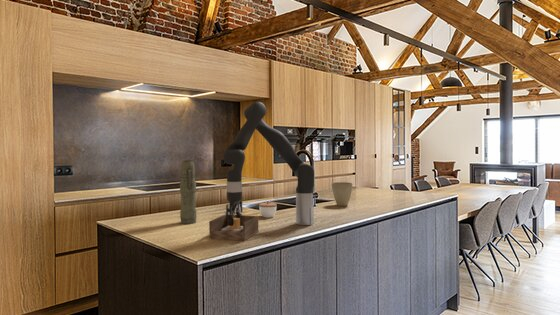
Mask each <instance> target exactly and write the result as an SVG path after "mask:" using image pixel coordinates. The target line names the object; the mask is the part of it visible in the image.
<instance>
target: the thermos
mask: <svg viewBox="0 0 560 315" xmlns="http://www.w3.org/2000/svg"><path fill="white" fill-rule="evenodd" d="M195 169H196V168H195V163H194V161H193V160H183V161H181V165H180V175H181V176H180V180H179V192H180V212H179V214H180V216H179V217H180V224H181V225H192V224H196V223H197V218H198V217H197V209H196V193H197V182H196V178H195V174H196V172H195Z"/></svg>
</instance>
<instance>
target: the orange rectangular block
mask: <svg viewBox="0 0 560 315" xmlns="http://www.w3.org/2000/svg"><path fill="white" fill-rule="evenodd" d="M239 228H240V218H233V226H229V229H239Z"/></svg>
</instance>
